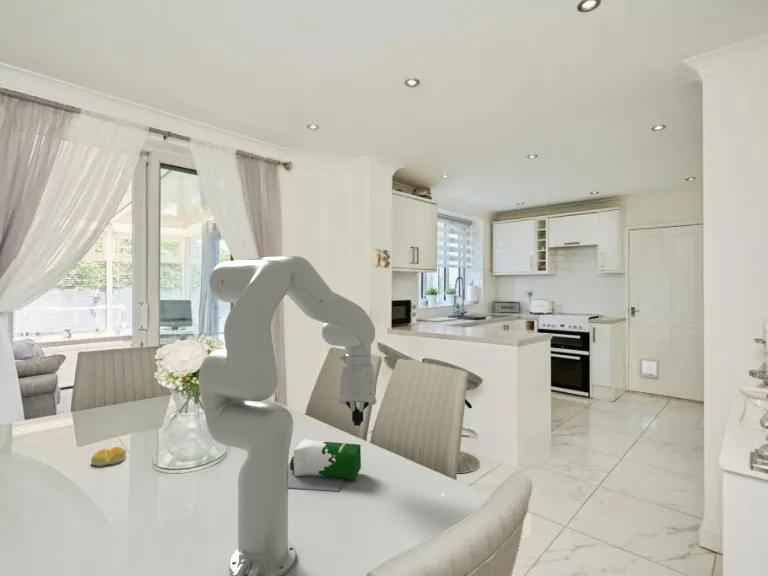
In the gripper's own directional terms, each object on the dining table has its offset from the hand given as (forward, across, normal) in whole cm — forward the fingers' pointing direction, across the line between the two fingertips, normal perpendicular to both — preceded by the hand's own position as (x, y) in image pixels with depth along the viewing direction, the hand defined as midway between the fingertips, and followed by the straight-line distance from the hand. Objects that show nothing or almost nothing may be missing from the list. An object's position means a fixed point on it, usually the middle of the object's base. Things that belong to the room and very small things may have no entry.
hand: (357, 424), depth 116 cm
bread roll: (+16, -80, +2) cm, 82 cm away
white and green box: (+11, 0, 0) cm, 11 cm away
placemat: (+16, -13, 0) cm, 20 cm away
